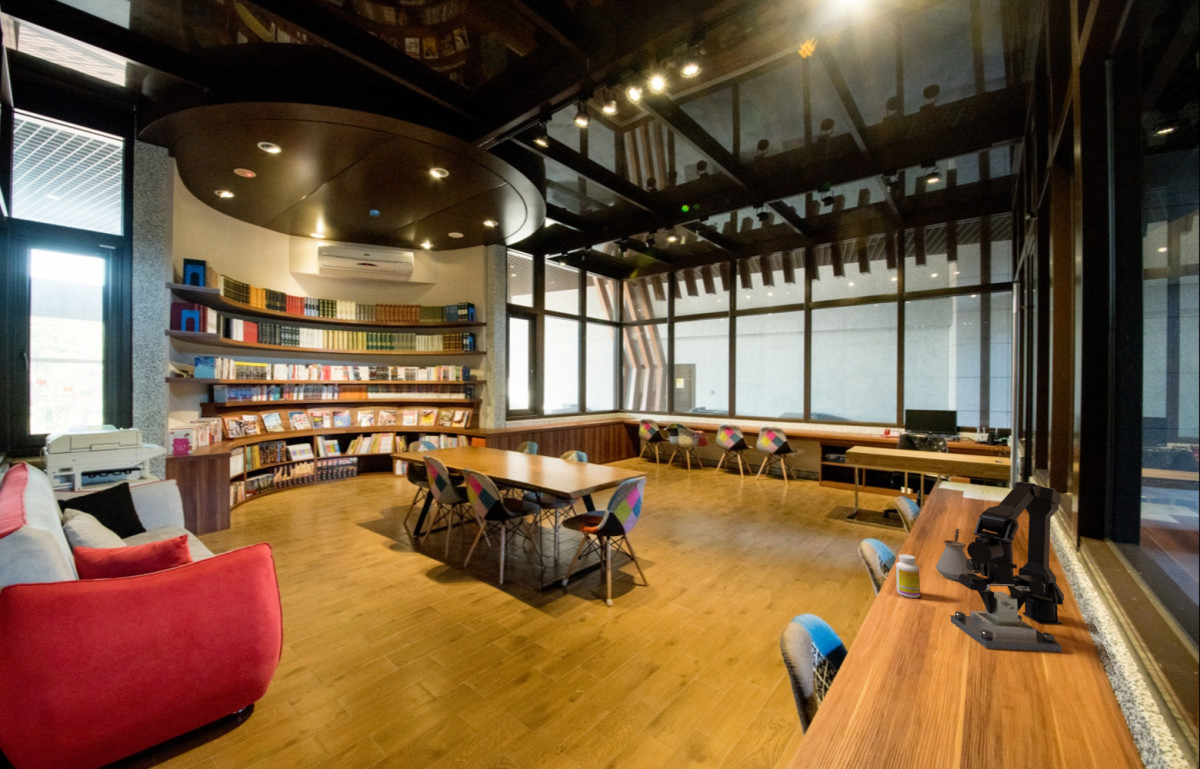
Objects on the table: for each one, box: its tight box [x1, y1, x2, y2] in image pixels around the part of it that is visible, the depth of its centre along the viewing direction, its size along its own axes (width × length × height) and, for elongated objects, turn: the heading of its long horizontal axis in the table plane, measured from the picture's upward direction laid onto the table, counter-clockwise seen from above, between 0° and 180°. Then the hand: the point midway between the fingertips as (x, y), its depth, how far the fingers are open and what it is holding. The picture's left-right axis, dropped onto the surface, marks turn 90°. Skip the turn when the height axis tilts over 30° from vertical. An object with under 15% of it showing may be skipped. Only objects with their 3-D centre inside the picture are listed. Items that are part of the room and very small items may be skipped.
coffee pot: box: [935, 528, 976, 582], centre depth 176 cm, size 21×12×15 cm, turn 137°
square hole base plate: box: [950, 610, 1062, 653], centre depth 129 cm, size 18×15×4 cm
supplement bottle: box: [895, 553, 921, 599], centre depth 158 cm, size 7×7×13 cm
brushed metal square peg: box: [984, 591, 1019, 627], centre depth 129 cm, size 5×6×9 cm
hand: (1001, 613), depth 130 cm, fingers open, 6 cm apart
